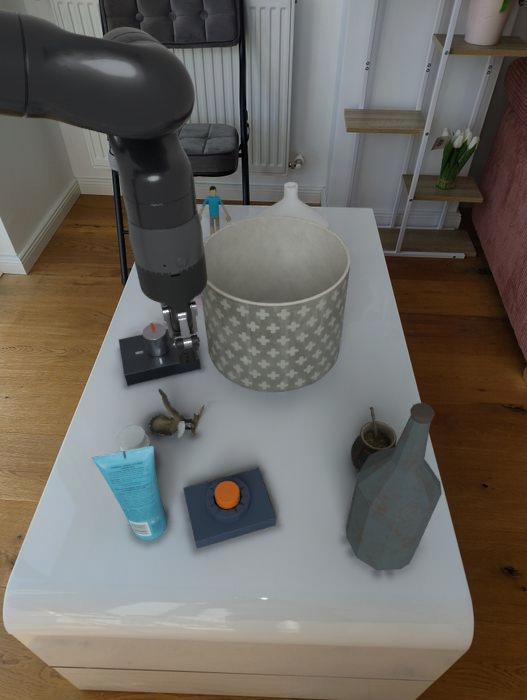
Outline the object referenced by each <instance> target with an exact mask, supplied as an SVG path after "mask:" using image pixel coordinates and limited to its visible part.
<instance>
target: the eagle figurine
mask: <svg viewBox="0 0 527 700" xmlns="http://www.w3.org/2000/svg"><path fill="white" fill-rule="evenodd" d="M158 393H159V395H160V396H161V401H162V405H163V406H164V408H165V410H166V411H167V412H168V413H169V415H171V417H168V416H164V415H163V414H161V413H158V414H157V415H154V416H153V417H151V419H150V420H149V423H148V425H149V431H150V432H151V433H152V434H154V435H158V434H159V435H162V436H163V437H171V436H173V434H174V433H175V432H176V431H177V438H178V439H180V438H182V437H183V435H184V433H185V431H190V433H191V435H193V437H195V436H196V429H197V427H198V424H199V421H200V419H201V417H202V414H203V412H204V411H205V406H206V405H205V404H203V405H202V407H201V408H200V410H199V411H198V413H196V412H193V417H192V418H186V417H185V416H184V415H182V414H181V413H180V412H179V411H178V409H176V408H175V407H173V406H172V405H171V402H170V400H169V399H168V395H167V394H166V393H165V392H164V391H163V390H162V389H161V388H158ZM186 424H187V425H186Z"/></svg>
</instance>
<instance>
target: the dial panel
mask: <svg viewBox="0 0 527 700" xmlns="http://www.w3.org/2000/svg"><path fill="white" fill-rule="evenodd" d="M166 332H167V337H168V342H169V350H168V352H167V353H166V354H164V355H162V356H151V355H149V354H148V353H147V351H146V347H145V343H144V339H143V335H142V334H137V335H133V336H127V337H124V338H119V339H118V342H119V351H120V357H121V363H122V369H123V376H124V380H125V383H126V385H127V386H133V385H137V384H141V383H146V382H150V381H155V380H159V379H163V378H168V377H172V376H176V375H181V374H186V373H189V372H193V371H199V370H201V362H200V357H199V354H198V351H195V355H196V363H195V364H193V365H188V366H183V367H182V366H180V364H179V360H178V356H177V352H176V351H175V348H176V347H175V346H174V343H173V342H174V339H173V338H171V337H170V336H169V332H168V328H166Z"/></svg>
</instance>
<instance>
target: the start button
mask: <svg viewBox="0 0 527 700" xmlns="http://www.w3.org/2000/svg"><path fill="white" fill-rule="evenodd" d="M215 499H216V503H217V504H218V505H219V506H220V507H221V508H224V509H230V508H233V507H235V506H236V505H237V504H238V502H239V500H240V492H239V487H238V486H237V485H236V484H235V483H234V482H231V481H224V482H221V483H220V484H219V485H218V486H217V487H216V489H215Z"/></svg>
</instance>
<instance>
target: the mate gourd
mask: <svg viewBox="0 0 527 700" xmlns="http://www.w3.org/2000/svg"><path fill="white" fill-rule="evenodd" d="M369 410H370V416H371V421H369V422H367V423H364V424H363V425H362V426H361V428H360V431H359V435H358V436H357V437H355V439H354V441H353V442H352V444H351V448H350V456H351V462H352V466H353V467H354V468H355V470H356V471H358V472H359V471H360V469H361V468H362V466H363V465H364V463H365V461H366V460H367V458H368V457H369V455H371V454H373V453H375V452H377V451H379V450H384V449H389V448H394V447H395V446H396V444H397V441H398V438H397V437H398V436H397V433H396V431H395V430H394V428H393V427H391V426H390V425H389V424H387V423H386V422H382V421H377V420H376V413H375V408H374V406H370V407H369Z"/></svg>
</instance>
